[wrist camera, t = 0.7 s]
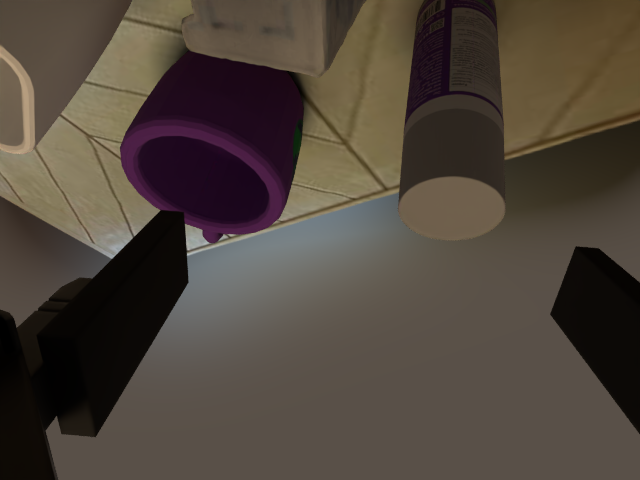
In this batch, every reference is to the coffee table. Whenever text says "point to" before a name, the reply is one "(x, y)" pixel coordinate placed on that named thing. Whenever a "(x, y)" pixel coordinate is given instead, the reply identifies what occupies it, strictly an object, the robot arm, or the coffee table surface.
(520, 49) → the coffee table surface
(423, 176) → the container
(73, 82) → the cup
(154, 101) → the mug
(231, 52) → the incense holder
